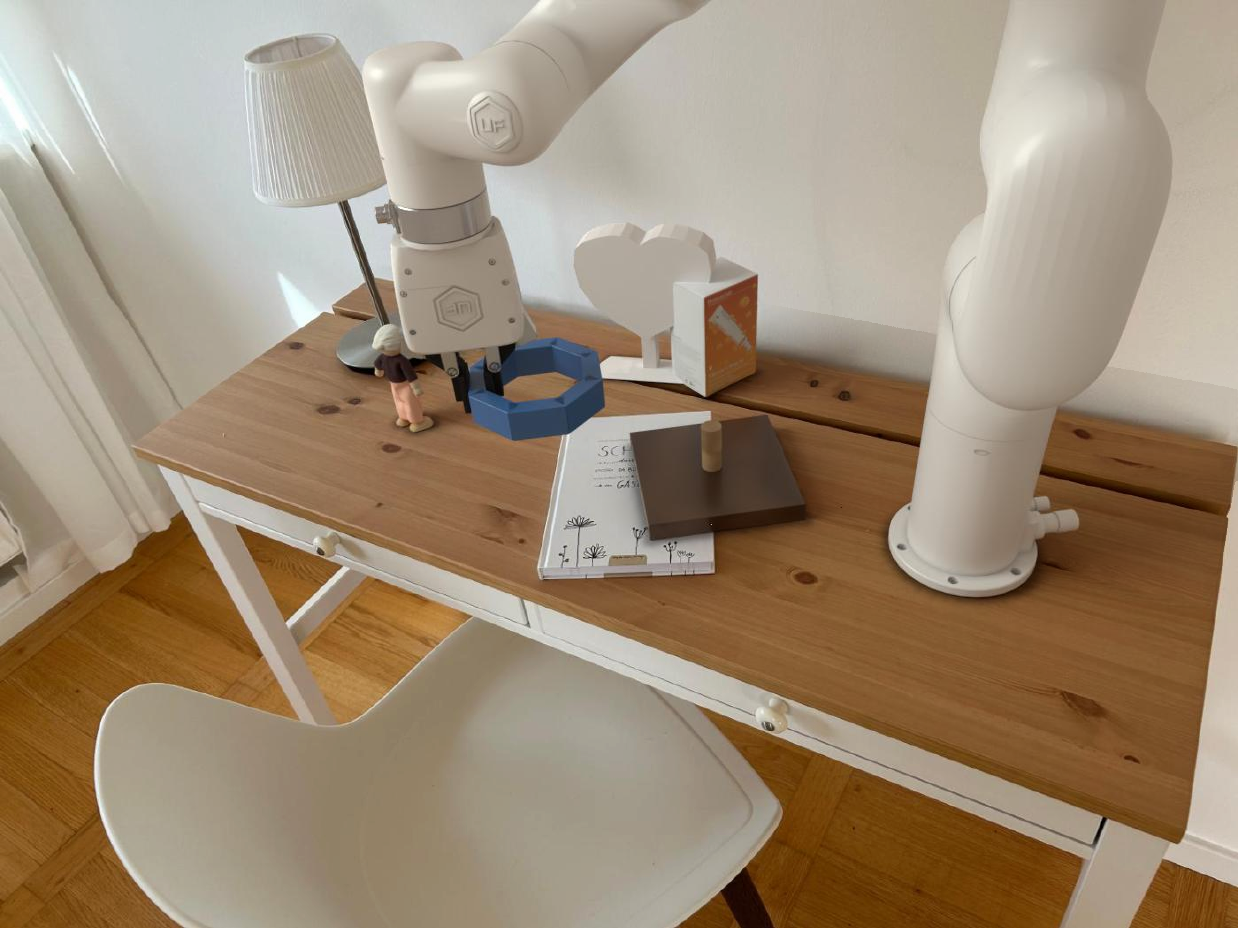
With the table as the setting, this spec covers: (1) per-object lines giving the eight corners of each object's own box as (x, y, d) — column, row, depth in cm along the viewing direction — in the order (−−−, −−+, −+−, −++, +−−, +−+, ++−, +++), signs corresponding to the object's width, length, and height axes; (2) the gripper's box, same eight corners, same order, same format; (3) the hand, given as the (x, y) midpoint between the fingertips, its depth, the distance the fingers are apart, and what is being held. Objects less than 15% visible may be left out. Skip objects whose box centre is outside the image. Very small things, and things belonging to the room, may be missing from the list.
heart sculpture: (718, 362, 109) (716, 221, 98) (712, 385, 105) (709, 241, 94) (595, 355, 113) (580, 218, 102) (584, 376, 109) (567, 237, 98)
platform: (767, 429, 98) (768, 375, 94) (804, 519, 86) (808, 462, 82) (630, 447, 97) (625, 393, 93) (649, 540, 86) (645, 484, 81)
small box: (706, 399, 103) (703, 297, 95) (671, 377, 108) (665, 278, 100) (757, 373, 107) (759, 272, 99) (722, 352, 111) (721, 255, 103)
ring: (596, 358, 89) (594, 332, 87) (609, 429, 79) (606, 401, 77) (475, 373, 88) (469, 347, 86) (473, 446, 79) (467, 418, 77)
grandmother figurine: (448, 419, 104) (424, 323, 97) (428, 437, 102) (402, 340, 94) (396, 406, 108) (369, 312, 100) (375, 423, 105) (346, 328, 97)
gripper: (338, 245, 68) (393, 438, 80) (543, 221, 69) (569, 416, 80) (350, 207, 74) (400, 392, 86) (539, 185, 75) (564, 372, 86)
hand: (482, 402), depth 83 cm, fingers closed on ring
